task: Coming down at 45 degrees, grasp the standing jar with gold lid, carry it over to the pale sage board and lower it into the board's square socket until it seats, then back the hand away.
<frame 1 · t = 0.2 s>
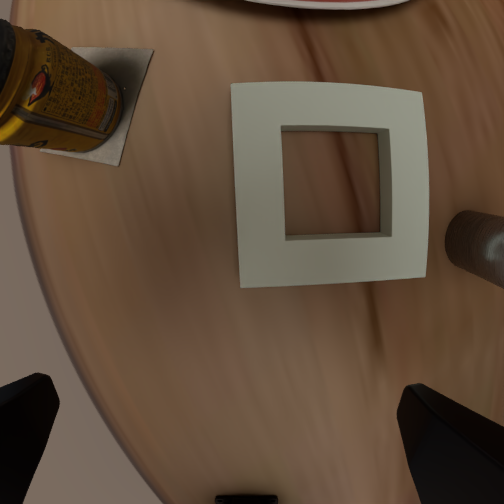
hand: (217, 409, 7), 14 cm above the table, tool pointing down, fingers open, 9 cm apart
condiment: (93, 101, 19), on the table
jar with gold lid: (466, 239, 20), on the table
hitch plate: (332, 182, 19), on the table
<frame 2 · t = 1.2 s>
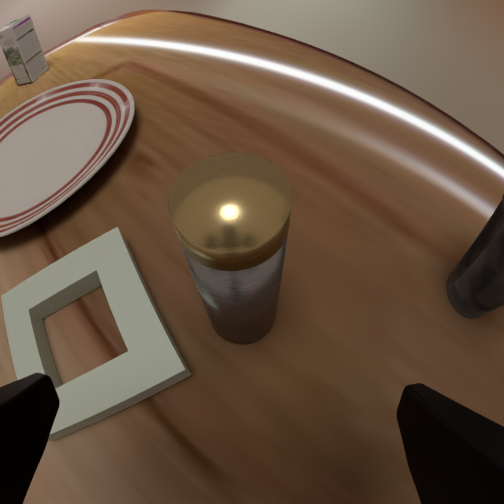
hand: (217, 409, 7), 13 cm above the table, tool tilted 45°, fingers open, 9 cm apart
jar with gold lid: (242, 313, 21), on the table
dinner plate: (39, 160, 31), on the table
hitch plate: (84, 337, 20), on the table
beverage cup: (466, 293, 22), on the table
syrup box: (33, 78, 46), on the table
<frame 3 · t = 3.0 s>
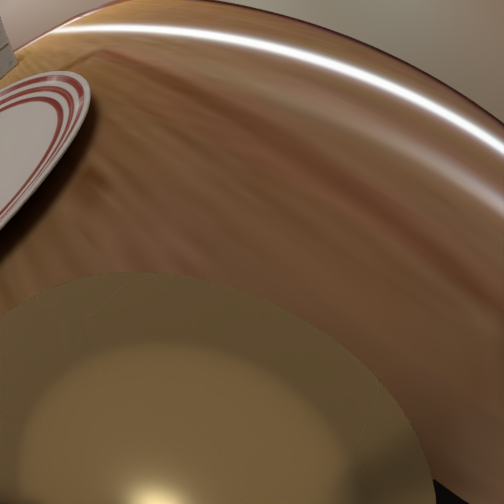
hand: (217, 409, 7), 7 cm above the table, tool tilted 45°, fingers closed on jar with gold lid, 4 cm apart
jar with gold lid: (234, 446, 12), on the table, touching gripper
syrup box: (1, 75, 36), on the table
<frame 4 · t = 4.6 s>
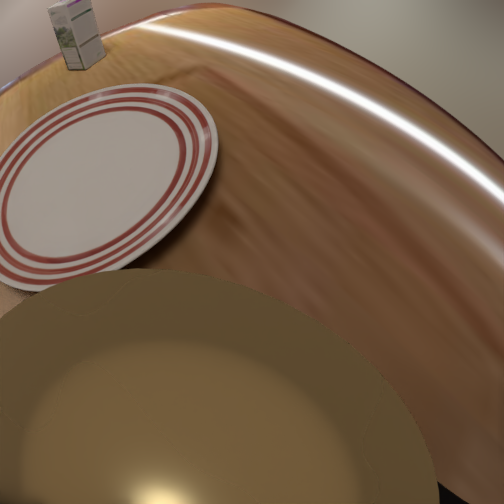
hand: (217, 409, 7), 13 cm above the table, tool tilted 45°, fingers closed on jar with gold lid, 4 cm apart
jar with gold lid: (235, 445, 12), point 7 cm above the table, touching gripper
dinner plate: (89, 179, 29), on the table
syrup box: (87, 64, 45), on the table
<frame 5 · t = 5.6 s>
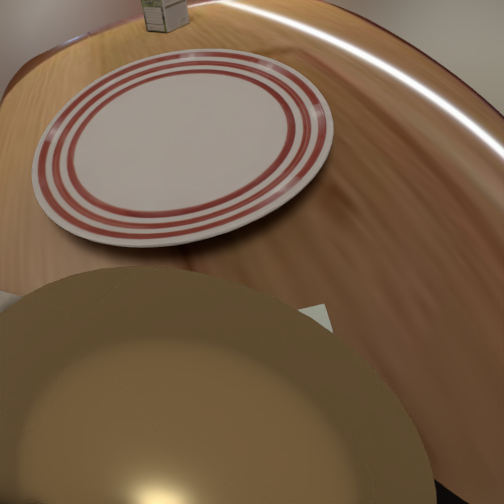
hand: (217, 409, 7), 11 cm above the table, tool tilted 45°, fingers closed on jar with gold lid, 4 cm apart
jar with gold lid: (234, 445, 12), point 4 cm above the table, touching gripper
dinner plate: (178, 136, 28), on the table
hitch plate: (239, 436, 15), on the table
syrup box: (168, 28, 44), on the table
when the fingers open (8 cm above the table, at t = 6.4 s): jar with gold lid drops 1 cm, resting in hitch plate.
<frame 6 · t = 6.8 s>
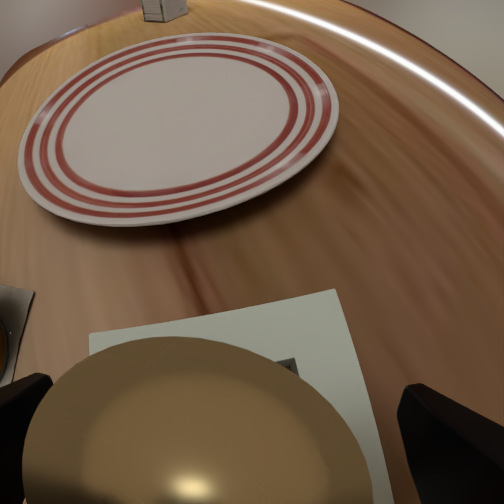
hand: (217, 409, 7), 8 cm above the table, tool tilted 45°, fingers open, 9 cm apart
jar with gold lid: (236, 446, 13), resting in hitch plate
dinner plate: (173, 117, 26), on the table
hitch plate: (236, 443, 13), on the table
syrup box: (166, 18, 42), on the table
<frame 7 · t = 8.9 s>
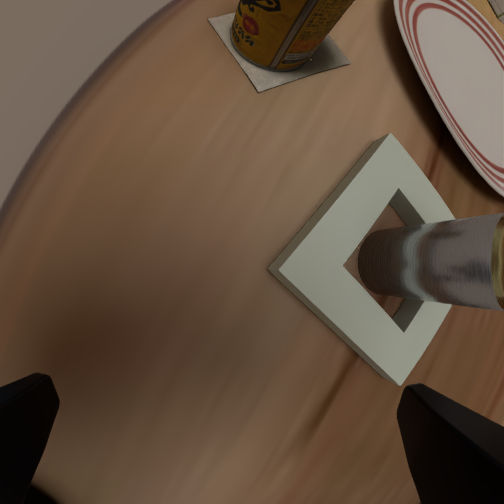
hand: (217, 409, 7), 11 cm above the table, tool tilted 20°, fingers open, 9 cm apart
condiment: (280, 41, 19), on the table
jar with gold lid: (384, 262, 20), resting in hitch plate
dinner plate: (471, 86, 25), on the table
hitch plate: (385, 261, 20), on the table
syrup box: (498, 15, 31), on the table
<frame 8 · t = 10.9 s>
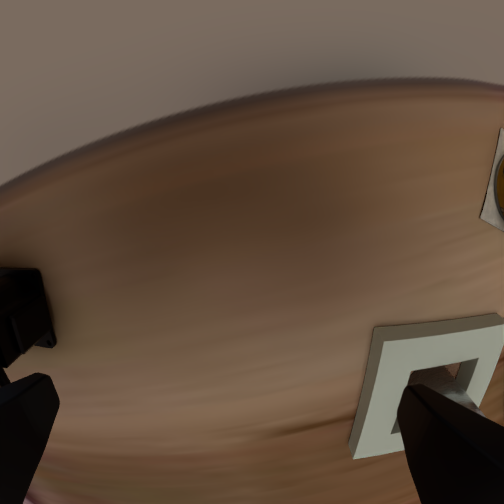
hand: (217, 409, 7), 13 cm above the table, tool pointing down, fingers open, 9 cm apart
jar with gold lid: (424, 384, 22), resting in hitch plate
hitch plate: (426, 384, 22), on the table
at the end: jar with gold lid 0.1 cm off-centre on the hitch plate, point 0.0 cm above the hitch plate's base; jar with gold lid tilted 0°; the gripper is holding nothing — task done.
